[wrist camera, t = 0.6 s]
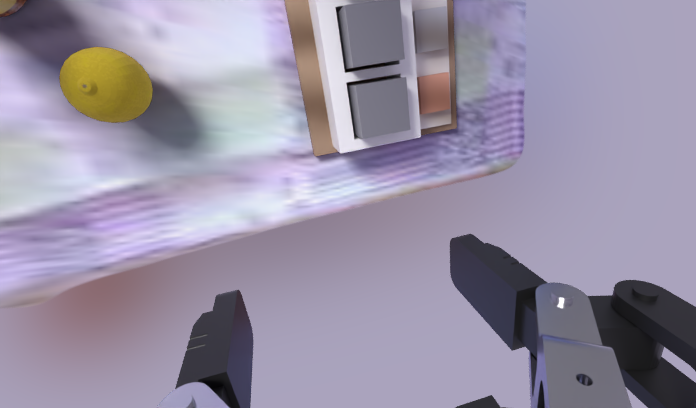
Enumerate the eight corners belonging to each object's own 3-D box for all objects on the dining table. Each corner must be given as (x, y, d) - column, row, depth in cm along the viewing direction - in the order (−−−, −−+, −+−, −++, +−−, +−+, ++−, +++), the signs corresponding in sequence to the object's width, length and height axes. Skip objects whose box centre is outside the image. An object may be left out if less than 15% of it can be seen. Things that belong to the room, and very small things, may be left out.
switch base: (269, -77, 28) (269, -90, 26) (444, -93, 31) (457, -106, 28) (313, 154, 35) (316, 159, 33) (452, 127, 38) (463, 129, 36)
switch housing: (295, -74, 28) (299, -98, 24) (386, -82, 29) (403, -107, 25) (332, 146, 35) (340, 153, 31) (405, 131, 36) (420, 137, 32)
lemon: (166, 62, 30) (133, 55, 23) (160, 123, 31) (128, 136, 24) (94, 43, 28) (34, 29, 21) (92, 109, 30) (35, 117, 22)
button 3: (345, 85, 31) (355, 85, 27) (390, 78, 32) (406, 77, 28) (352, 132, 33) (362, 139, 29) (394, 124, 33) (410, 129, 30)
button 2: (335, 15, 29) (344, 5, 25) (383, 8, 30) (399, -3, 26) (342, 69, 30) (353, 67, 27) (388, 62, 31) (404, 59, 27)
